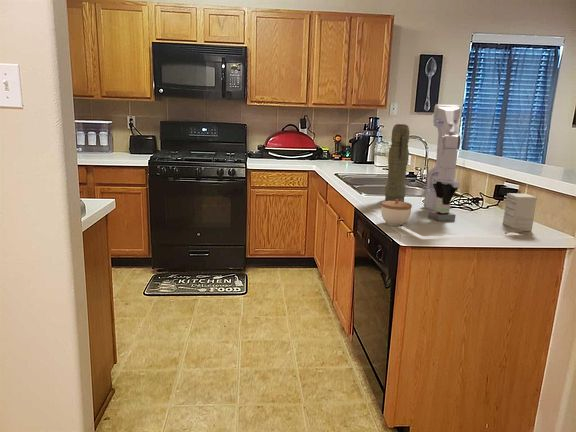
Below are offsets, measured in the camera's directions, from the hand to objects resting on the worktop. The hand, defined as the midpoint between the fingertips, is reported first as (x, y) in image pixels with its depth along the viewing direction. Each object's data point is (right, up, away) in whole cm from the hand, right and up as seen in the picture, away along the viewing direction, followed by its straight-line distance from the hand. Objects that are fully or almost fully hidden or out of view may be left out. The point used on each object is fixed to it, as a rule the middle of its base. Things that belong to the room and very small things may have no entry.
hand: (443, 203), depth 167 cm
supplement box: (+25, -10, -5) cm, 27 cm away
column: (0, -3, +1) cm, 3 cm away
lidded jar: (-19, -8, -4) cm, 21 cm away
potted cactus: (-9, +2, +39) cm, 40 cm away
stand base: (0, -7, +2) cm, 7 cm away
